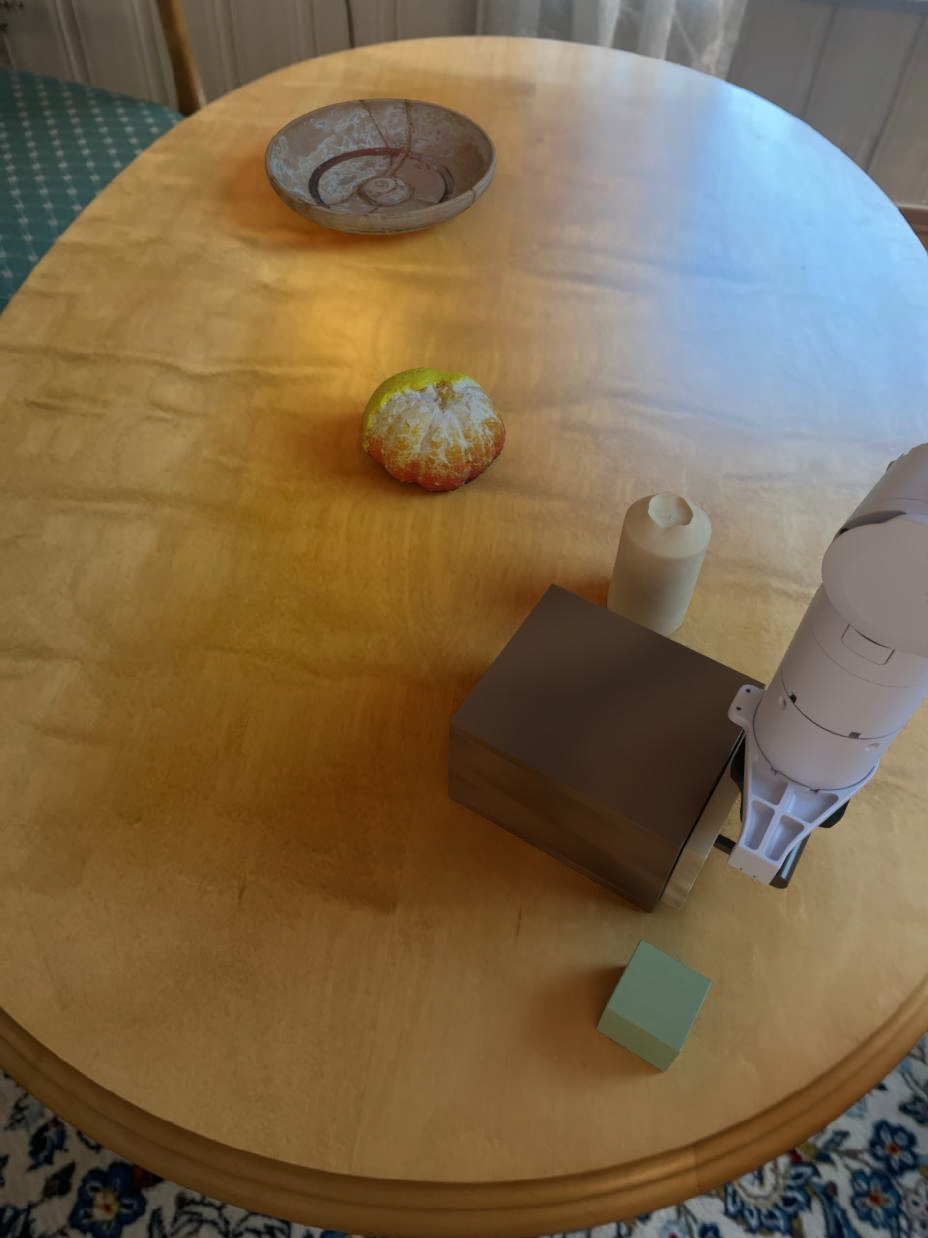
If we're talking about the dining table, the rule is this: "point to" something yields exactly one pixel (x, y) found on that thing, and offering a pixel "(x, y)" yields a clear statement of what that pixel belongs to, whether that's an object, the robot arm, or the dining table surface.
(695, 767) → the cabinet
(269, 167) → the ceramic bowl
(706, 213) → the dining table surface
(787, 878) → the drawer
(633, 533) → the beige bottle
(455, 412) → the fruit
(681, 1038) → the block
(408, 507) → the dining table surface
